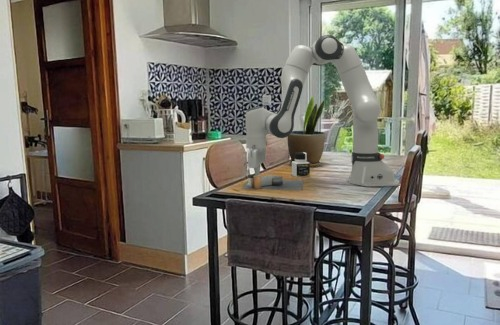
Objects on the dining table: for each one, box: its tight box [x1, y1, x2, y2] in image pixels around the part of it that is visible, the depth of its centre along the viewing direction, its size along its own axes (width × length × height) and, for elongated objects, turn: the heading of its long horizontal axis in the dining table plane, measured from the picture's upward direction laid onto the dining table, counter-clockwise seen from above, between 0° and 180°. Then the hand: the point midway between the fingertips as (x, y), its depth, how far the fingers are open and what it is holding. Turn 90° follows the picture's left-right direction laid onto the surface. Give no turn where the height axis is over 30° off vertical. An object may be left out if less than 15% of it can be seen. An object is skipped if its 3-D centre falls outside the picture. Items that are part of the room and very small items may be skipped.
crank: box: [247, 174, 284, 187], centre depth 190 cm, size 16×6×5 cm, turn 113°
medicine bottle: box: [291, 152, 311, 178], centre depth 216 cm, size 7×7×12 cm
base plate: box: [241, 175, 304, 191], centre depth 192 cm, size 26×20×6 cm
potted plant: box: [287, 95, 326, 168], centre depth 245 cm, size 21×22×40 cm
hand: (257, 174), depth 191 cm, fingers closed
